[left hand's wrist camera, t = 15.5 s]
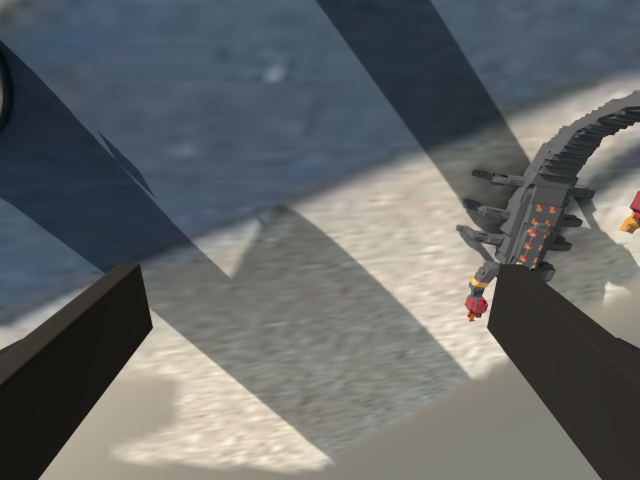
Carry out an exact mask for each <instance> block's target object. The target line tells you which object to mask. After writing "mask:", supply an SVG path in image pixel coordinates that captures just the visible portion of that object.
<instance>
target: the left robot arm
mask: <svg viewBox="0 0 640 480" xmlns="http://www.w3.org/2000/svg"><path fill="white" fill-rule="evenodd" d="M11 105H12V87H11V81H10V76H9V72H8V69H7V66H6V63H5V61H4V59H3V56H2V54H1V52H0V131H1V130H2V129H3V127H4V126H5V124H6V122H7V120H8V117H9V114H10V110H11ZM152 329H153V325H152V321H151V316H150V311H149V306H148V301H147V297H146V292H145V287H144V282H143V277H142V272H141V268H140V264H118V265H117V266H116V267H114V268H113V269H112V270H111V271H109V272H108V273H107V274H105V275H104V276H103V277H102V278H100V279H99V280H98V281H97V282H95V283H94V284H93V285H91V286H90V287H89V288H88V289H86V290H85V291H84V292H82V293H81V294H80V295H79V296H77V297H76V298H75V299H73V300H72V301H71V302H70V303H68V304H67V305H66V306H64V307H63V308H62V309H61V310H59V311H58V312H57V313H55V314H54V315H53V316H52V317H50V318H49V319H48V320H46V321H45V322H44V323H43V324H41V325H40V326H39V327H38V328H36V329H35V330H34V331H32V332H31V333H30V334H29V335H27V336H26V337H25V338H23V339H21V340H19V341H17V342H15V343H13V344H11V345H9V346H7V347H5V348H3V349H1V350H0V480H38V479H39V478H40V476H41V475H42V474H43V472H44V471H45V470H46V469H47V467H48V466H49V464H50V463H51V462H52V461H53V459H54V458H55V457H56V455H57V454H58V453H59V451H60V450H61V449H62V447H63V446H64V445H65V443H66V442H67V441H68V439H69V438H70V437H71V435H72V434H73V433H74V432H75V430H76V429H77V428H78V426H79V425H80V424H81V422H82V421H83V419H84V418H85V417H86V416H87V414H88V413H89V412H90V410H91V409H92V408H93V406H94V405H95V404H96V402H97V401H98V400H99V399H100V397H101V396H102V395H103V393H104V392H105V391H106V389H107V388H108V387H109V385H110V384H111V383H112V381H113V380H114V379H115V377H116V376H117V375H118V373H119V372H120V371H121V369H122V368H123V367H124V365H125V364H126V363H127V362H128V360H129V359H130V358H131V356H132V355H133V354H134V352H135V351H136V350H137V348H138V347H139V346H140V344H141V343H142V342H143V340H144V339H145V338H146V336H147V335H148V334H149V332H150V331H151V330H152ZM487 329H488V330H489V331H490V332H491V334H492V335H493V336H494V338H495V339H496V340H497V342H498V343H499V344H500V346H501V347H502V348H503V350H504V351H505V352H506V354H507V355H508V356H509V358H510V359H511V360H512V362H513V363H514V364H515V365H516V367H517V368H518V369H519V371H520V372H521V373H522V375H523V376H524V377H525V379H526V380H527V381H528V383H529V384H530V385H531V387H532V388H533V389H534V391H535V392H536V393H537V395H538V396H539V397H540V399H541V400H542V401H543V402H544V404H545V405H546V406H547V408H548V409H549V410H550V412H551V413H552V414H553V416H554V417H555V418H556V420H557V421H558V422H559V424H560V425H561V426H562V428H563V429H564V430H565V431H566V433H567V434H568V436H569V437H570V438H571V439H572V441H573V442H574V443H575V445H576V446H577V447H578V449H579V450H580V451H581V453H582V454H583V455H584V457H585V458H586V459H587V461H588V462H589V463H590V465H591V466H592V467H593V468H594V470H595V471H596V472H597V474H598V475H599V476H600V478H601V479H602V480H640V348H638V347H636V346H634V345H632V344H630V343H628V342H626V341H624V340H622V339H620V338H615V337H614V336H613V335H611V334H610V333H609V332H608V331H606V330H605V329H604V328H602V327H601V326H600V325H599V324H597V323H596V322H595V321H593V320H592V319H591V318H590V317H588V316H587V315H586V314H585V313H583V312H582V311H581V310H579V309H578V308H577V307H576V306H574V305H573V304H572V303H570V302H569V301H568V300H567V299H565V298H564V297H563V296H561V295H560V294H559V293H558V292H556V291H555V290H554V289H552V288H551V287H550V286H549V285H547V284H546V283H545V282H543V281H542V280H541V279H540V278H538V277H537V276H536V275H535V274H533V273H532V272H531V271H529V270H528V269H527V268H526V267H524V266H523V265H522V264H500V268H499V272H498V277H497V282H496V287H495V292H494V297H493V301H492V306H491V311H490V316H489V321H488V325H487Z"/></svg>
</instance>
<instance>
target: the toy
mask: <svg viewBox="0 0 640 480" xmlns="http://www.w3.org/2000/svg"><path fill="white" fill-rule="evenodd" d="M635 122H640V91H634V92H633V93H632V94H631V95H629V96H627V97H625V98H622V99H612V100H611V101H609V102H608V103H605V105H604V106H603V107H598V110H592V112H591V114H586V115H585V117H582V118H581V119H579V120H576V121H575V122H574V123H573V124H571V125H570V126H563V127H562V129H559V132H558V135H555V138H552V139H551V140H550V141H549V142H547V143H543V145H542V146H541V148H540V149H539V151H538V153H537V155H536V157H535V158H534V160H533V162H532V163H531V164H530V165H529V166H528V167H527V169H526V171H525V173H524V175H523V176H514V175H503V174H498V173H493V174H490V173H487V172H483V171H476V170H473V174H472V175H474V176H478V177H482V178H485V179H487V180H490V181H491V184H495V185H503V186H507V187H516V188H515V189H513V190H512V193H511V195H510V198H509V201H508V203H509V205H508V207H507V209H506V210H504V209H499V208H493V207H488V206H483V205H481V204H480V203H478V202H476V201H472V200H465V201H464V204H463V207H464V208H468V209H472V210H475V211H477V212H479V213H480V214H482V215H485V216H490V217H497V218H502V221H501V224H500V226H499V229H500V230H502V231H501V234H491V233H486V232H481V231H476V230H473V229H472V228H470V227H469V226H462V225H457V227H456V230H457V231H460V232H465V233H467V234H468V235H469V236H470V237H471V238H473V240H474V241H475V242H480V243H485V244H491V245H497V246H496V249H497V250H496V253H495V258H496V259H497V260H498V261H500V262H501V263H500V264H522V265H523V266H524V267H526V268H527V269H528V270H529V271H531V272H532V273H533V274H535V275H536V276H537V277H538V278H540V279H541V280H542V281H543V282H545V283H546V282H547V281H550V280H551V278H552V276H553V275H554V273H555V271H556V270H555V269H554V268H553V265H551V264H549V263H548V262H544V261H542V260H543V258H544V256H545V254H546V252H547V250H552V251H567V250H570V247H571V246H572V244H571V243H568V242H566V241H565V238H564V237H559V236H558V233H559V230H560V228H561V227H566V226H567V227H579V226H581V224H582V222H583V221H582V220H581V219H579V218H576V217H577V216H575V215H572V214H566V212H567V209H568V204H569V202H570V199H571V197H572V196H574V197H582V198H590V199H592V198H593V196H594V194H595V191H594V190H590V189H588V188H589V187H586V186H580V185H576V183H577V181H578V179H579V178H577V177H576V175H577V173H578V172H579V171H580V170H581V169H582V167H583V165H585V164H586V161H587V159H588V157H590V156H591V155H592V154H593V152H594V151H595V150H596V148H597V147H599V146H600V143H601V141H602V139H603V137H606V136H608V135H614V134H615V133H616V132H618V131H619V129H626V128H627V127H628V126H633V124H634V123H635ZM629 208H631V209H632V210H633V212H632V215H631V216H630V217H629V218H627V219H626V220H625V221H624V223H623V225H622V226H621V228H620V231H626V232H629V233H631V234H633V232H634V231H635V230H636V229H638V228H640V191H638V192H637V195H636V197H635V198H634V200H633V202H632V204H631V206H630V207H629ZM500 264H499V263H498V262H492V261H487V262H486V263H484V266H483V267H480V268H479V270H478V272H476V275H475V276H474V277H471V280H470V283H469V287H470V288H471V294H470V296H468V297H467V300H466V303H465V306H466V307H467V309H468V310H469V312H468V316H467V317H469V322H471V321H475V320H473V319H474V317H475V316H476V318H481V315H482V313H484V312H485V311H486V309H487V307H488V304H487V302H486V300H485V299H484V298H483V297H482V294H483V292H484V289H485V288H486V287H487V285H488V284H489V283H490V282H491V281H492V279H493V278H494V277H495V276H496V277H498V272H499V268H500Z"/></svg>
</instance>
